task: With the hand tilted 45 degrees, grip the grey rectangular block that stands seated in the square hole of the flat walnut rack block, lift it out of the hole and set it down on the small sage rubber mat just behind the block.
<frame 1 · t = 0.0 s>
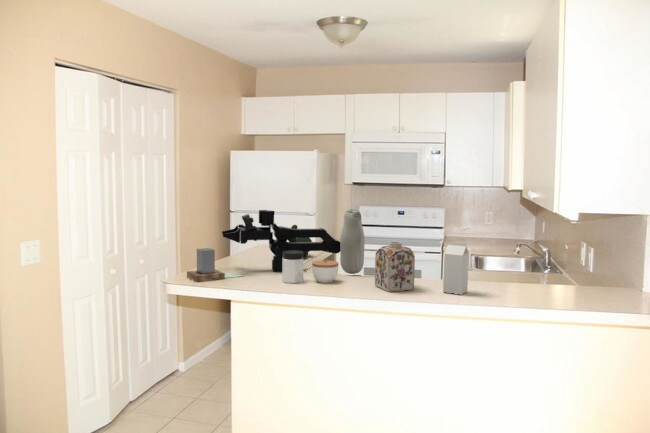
hand: (222, 233, 251), 17 cm above the countertop, tool horizontal, fingers open, 9 cm apart
grey rectangular block: (205, 263, 238), in the socket block
milk carton: (455, 292, 221), on the countertop
socket block: (205, 278, 239), on the countertop
lidded jar: (325, 281, 237), on the countertop
grey green vase: (351, 273, 254), on the countertop
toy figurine: (299, 258, 290), on the countertop
jar: (292, 281, 236), on the countertop
mat: (230, 275, 245), on the countertop
decorative jar: (393, 288, 226), on the countertop
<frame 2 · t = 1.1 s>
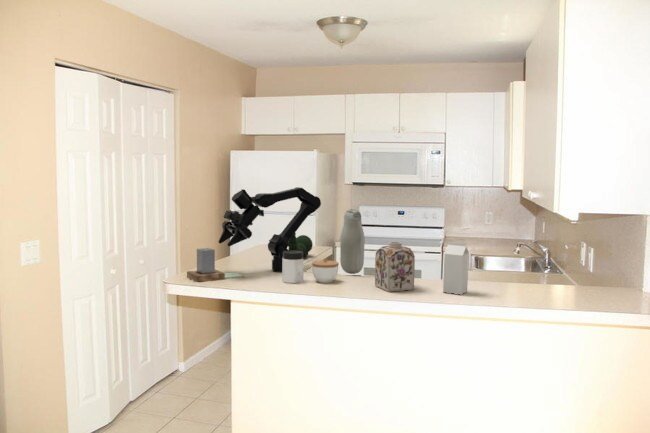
hand: (223, 244, 242), 13 cm above the countertop, tool tilted 45°, fingers open, 9 cm apart
nothing on the countertop moved.
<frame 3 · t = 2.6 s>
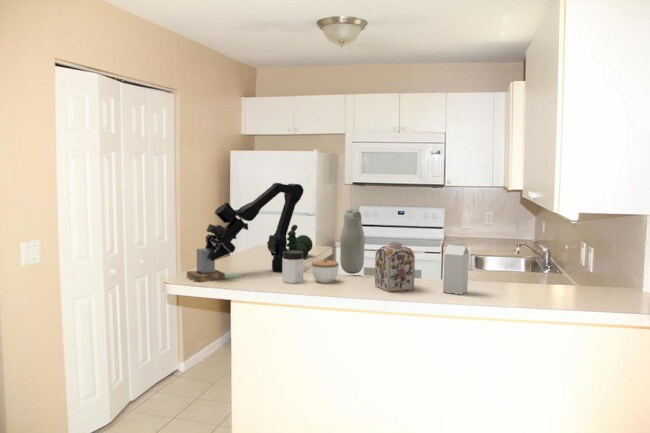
hand: (206, 258, 238), 8 cm above the countertop, tool tilted 45°, fingers open, 9 cm apart
nothing on the countertop moved.
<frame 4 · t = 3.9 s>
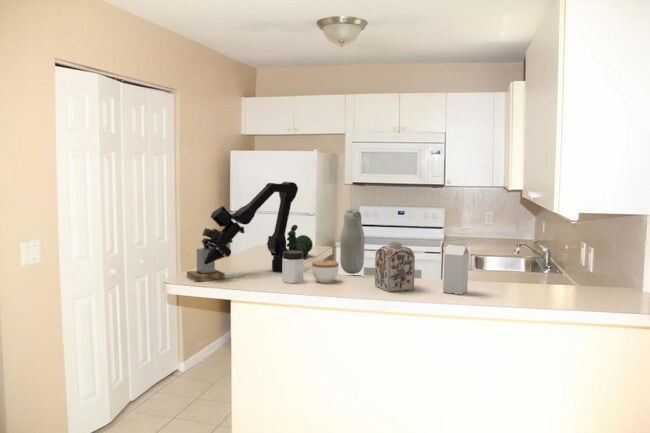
hand: (202, 262, 237), 7 cm above the countertop, tool tilted 45°, fingers closed on grey rectangular block, 5 cm apart
grey rectangular block: (205, 263, 238), in the socket block, touching gripper
everything else where it was.
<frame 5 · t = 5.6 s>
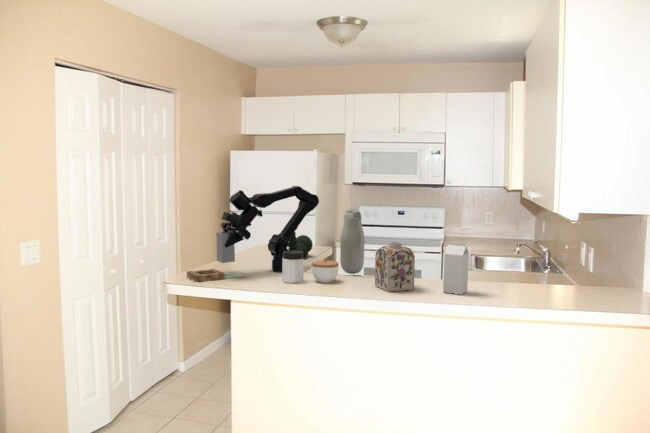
hand: (222, 245, 242), 13 cm above the countertop, tool tilted 45°, fingers closed on grey rectangular block, 5 cm apart
grey rectangular block: (225, 247, 242), point 12 cm above the countertop, touching gripper
everything else where it was.
when the fingers open (8 cm above the countertop, at t = 7.3 s): grey rectangular block stays where it is, resting on mat.
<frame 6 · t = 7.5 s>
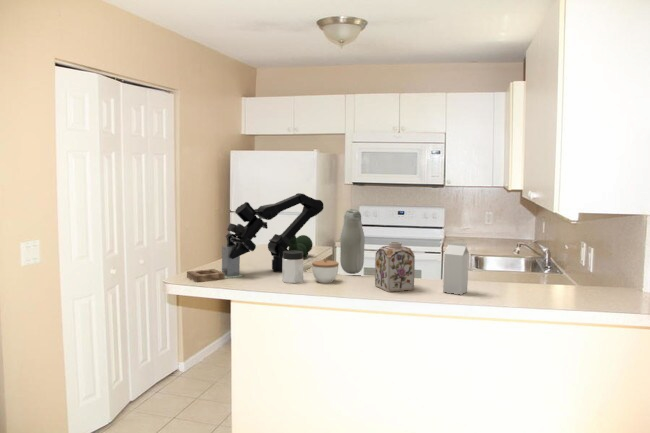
hand: (227, 256, 243), 8 cm above the countertop, tool tilted 45°, fingers open, 8 cm apart
grey rectangular block: (230, 260, 244), resting on mat
everything else where it was.
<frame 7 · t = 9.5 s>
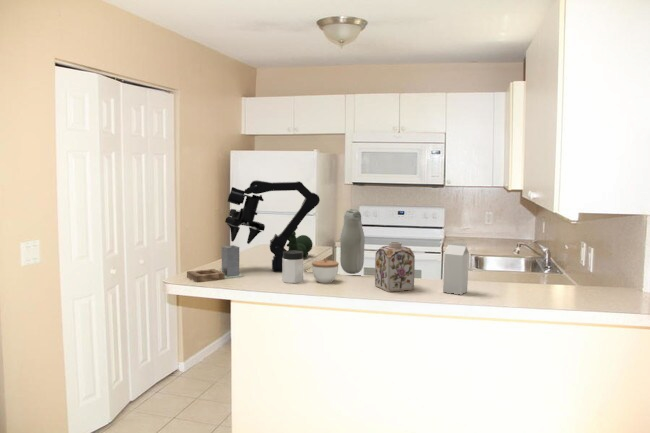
hand: (240, 242, 255), 13 cm above the countertop, tool tilted 15°, fingers open, 9 cm apart
nothing on the countertop moved.
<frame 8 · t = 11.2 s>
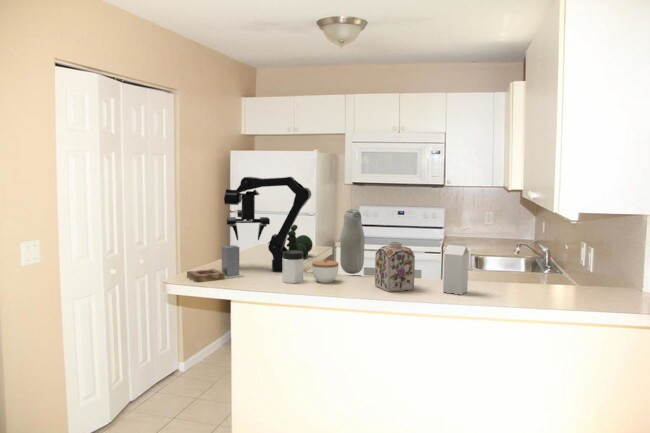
hand: (247, 240, 259), 13 cm above the countertop, tool pointing down, fingers open, 9 cm apart
nothing on the countertop moved.
at the end: grey rectangular block inside the target area on the mat (0.0 cm from its centre), point 6.3 cm above the mat's base; grey rectangular block tilted 0°; the gripper is holding nothing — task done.
